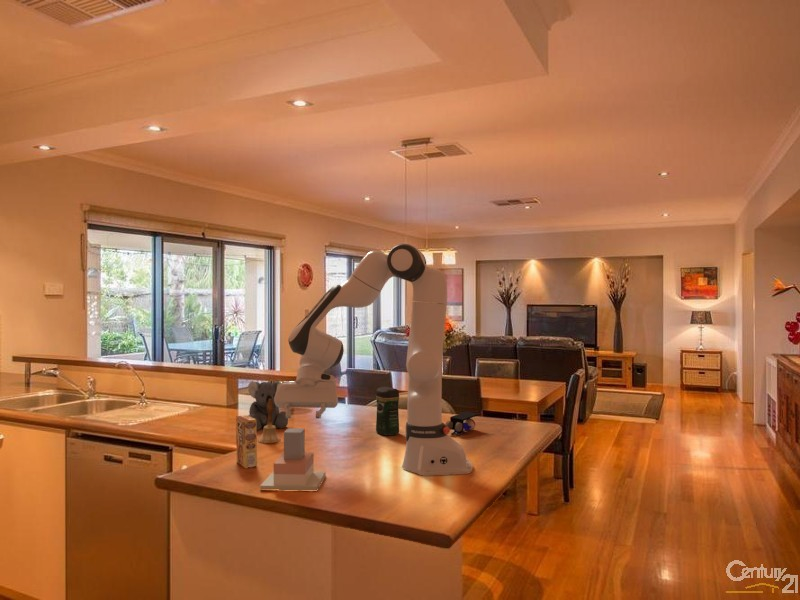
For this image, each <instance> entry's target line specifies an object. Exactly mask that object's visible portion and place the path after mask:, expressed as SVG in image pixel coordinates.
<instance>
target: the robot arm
mask: <svg viewBox="0 0 800 600" xmlns="http://www.w3.org/2000/svg"><path fill="white" fill-rule="evenodd" d="M394 277H396V278H399V279H401V280H404V281H406V282H410V284H411V285H412V291H413V292H412V300H411V315H410V325H409V327H410V328H409V335H408V344H407V352H406V361H405V366H406V371H407V373H408V374H407V375H408V376H407V380H408V381H407V397H406V399H407V408H406V409H407V411H406V412H407V413H406V414H407V417H406V418H407V422H406V423H405V441H406V445H405V451H404V452H405V453H404V458H403V462H402V465H401V468H402V469H404V470H405V471H408V472H412V473H414V474H417V475H420V476H422V475H423V477H424V476H425V475H430V476H447V475H449V474H452V475H467V474H470V473H472V472H473V469H474V466H473V463H472V462H471V461H470V460H469V459H467V457H466V452H465V449H464V447H463V446H462V445H461V444H460V443H459V442H458V441H456V440H455V439H454V438H453V437H452V436H450V435H449V434H450V432H451V430H450V429H449V427H448V426H447V425H446V423H444V422H443V421H442V417H443V416H442V413H443V412H442V410H443V408H442V404H443V401H442V400H443V399H442V398H443V397H442V394H443V391H442V389H443V385H442V384H443V382H442V380H443V376H442V375H443V371H442V370H443V368H442V366H443V355H444V354H443V353H444V342H445V341H444V339H445V331H446V330H445V329H446V327H445V325H446V317H447V316H446V315H447V301H448V287H447V277H446V274H445V273H444V272H443V271H442V270H440V269H438V268H434V267H430V266H429V267H428V266H427V260H426V256H425V255H424V254H423V253H422V251H420V249H419V248H418V247H416V246H413V245H411V244H409V243H408V244H407V243H400V244H396V245H395V246H394V247H391V249H390V251H389V253H388V254H386V253H384V252H382V251H379V250H371V251H369V252H368V253H366V254H365V255H364V257H362V259H361V261H359V263H358V264H357V266H356V267H355V268H354V270H353V272H352V273H351V275H350V276H349V277H348V279H346V280H345V281H344V282H342V283H340V284H334V285H333V286H332V287H330V288H329V289H328V291H327V292H326V293H325V294H324V295H322V296H321V298H320V299H319V300H318V302H317V303H316V304H315V305H314V306H313V307H312V309H311V310H310V311H309V312H308V314H306V316H305V317H304V318H303V319H302V320H301V321H300V322H299V323H298V324H297V325H296V326H295V327H294V328H293V329H292V331H291V332H290V334H289V337H288V340H287V341H288V344H289V347H290V350H291V351H292V353H295V354H298V355H300V357H299V368H298V370H297V373H296V379H295V380H294V381H293V380H291V381H290V380H289V381H287V380H282V381H283V382H281V383H279V384H278V385H277V389H276V390H277V392H276V394H275V397H274V402H275V405H276V406H277V407H278V408H284V411H285V412H286V418H288V419H291V418H292V411H291V410H290V409H291V408H300V409H301V408H309V409H310V408H312V409H314V408H316V409H317V408H318V410H316V411H315V419H322V415H323V414H324V412H325V411H327V410H326V409H328V408H329V409H333V408H336V407H337V406H338V402H339V399H338V398H339V396H338V389H337V382H336V377H335V376H334V375H332V374H328V373H326V372H325V371H326V370H331V369H332V368H334V367H336V366H337V365H339V363H341V361H342V358H343V357H344V351H345V349H344V345H343V341H342V340H340V339H339V338H337V337H335V336H333V335H331V334H328V333H326V332H324V331H322V330H320V329H318V328H317V327H318V325H319V324H320V323H321V322H322V321H323V319H324V318H326V316H327V315H328V314H329V312H330V311H331V310H333V309H335V308H341V307H343V308H345V307H346V308H356V309H357V308H358V309H360V308H366V307H368V306H371V305H372V304H373V303H374V302H375V301H376V300H377V298H378V297H379V295H380V294H381V292H382V291H383V288H384V287H385V285H386V283H387V282H388V281H389V280H390V279H391V278H394ZM319 408H320V409H319Z"/></svg>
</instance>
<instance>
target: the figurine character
mask: <svg viewBox="0 0 800 600" xmlns="http://www.w3.org/2000/svg"><path fill="white" fill-rule="evenodd" d="M477 416H479V413H476V412H471V411H463V412H460V413H458V414H455V415H452V416H450V418H449V420H448V421H446V422H445V424H446V425H447V426H448V427H449V429H450V431H451V430H452V431H453V432H450V435H453V436H454V434H456V436H460V435H462V434H463V433H464V432H465V431H466V432H467V431H474V429H475V427H476V422H475V420H474V419H472V418H474V417H477Z"/></svg>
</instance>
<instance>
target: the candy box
mask: <svg viewBox="0 0 800 600" xmlns="http://www.w3.org/2000/svg"><path fill="white" fill-rule="evenodd" d="M248 415H249V414H245V415H237V416H236V417H235V429H236V430H235V432H236V433H235V434H236V436H235V437H236V440H235V441H236V442H235V443H236V444H235V445H236V463H237V464H239V465H240V464H241V465H240V466H242V467H243V468H244V467H245V468H244V469H249V468H248V467H250V468H254V467H255V466H256V467H258V450H257V449H258V440H257V439H258V438H257V436H258V434H257V431H258V430H257V420H256V419H254V418H252V417H250V416H248Z"/></svg>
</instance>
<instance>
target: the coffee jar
mask: <svg viewBox="0 0 800 600" xmlns="http://www.w3.org/2000/svg"><path fill="white" fill-rule="evenodd" d="M399 391H400V390H399V389H397V388H394V387H390V386H378V388H377V389H376V392H375V400H376V418H375V419H376V421H375V432H376V433H377V434H380V435H383V436H396V435H398V434H400V421H399V419H400V417H399V414H400V413H399V402H400V392H399Z"/></svg>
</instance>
